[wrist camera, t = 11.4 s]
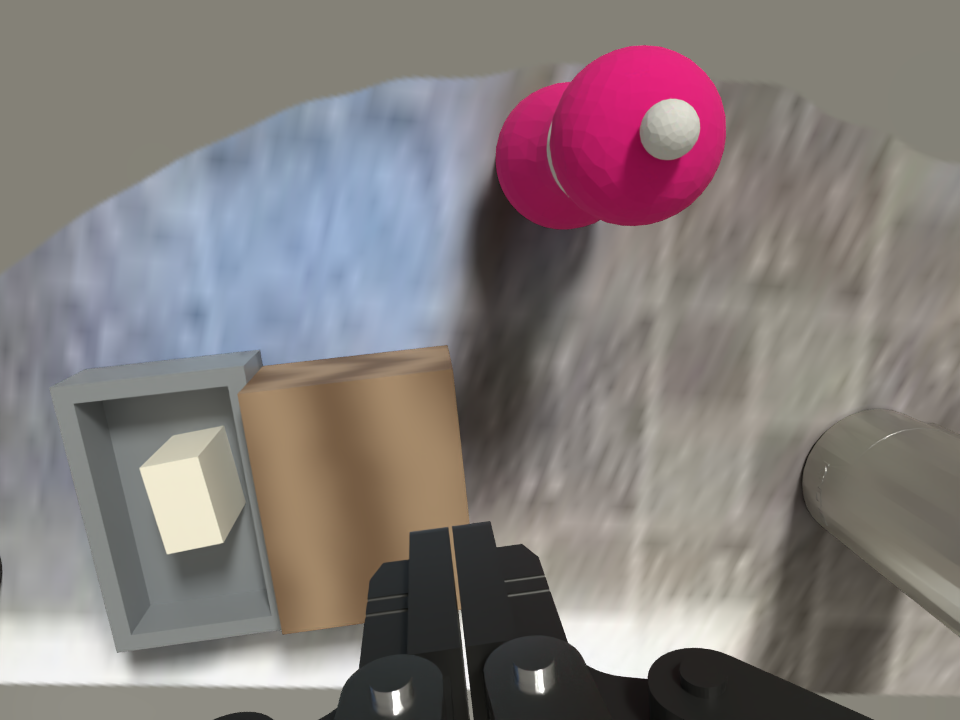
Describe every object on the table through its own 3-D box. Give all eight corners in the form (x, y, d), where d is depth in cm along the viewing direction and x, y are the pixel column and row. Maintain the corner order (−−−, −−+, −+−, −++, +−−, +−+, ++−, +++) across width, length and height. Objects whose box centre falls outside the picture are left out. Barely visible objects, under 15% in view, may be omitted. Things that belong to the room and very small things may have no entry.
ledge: (447, 345, 41) (452, 369, 35) (470, 553, 44) (478, 607, 39) (262, 366, 40) (237, 394, 35) (300, 576, 44) (282, 634, 38)
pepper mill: (587, 241, 41) (745, 280, 21) (471, 205, 39) (525, 211, 20) (628, 119, 39) (837, 41, 20) (509, 78, 38) (606, -48, 19)
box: (259, 349, 40) (243, 365, 36) (302, 590, 44) (291, 628, 40) (85, 369, 40) (49, 387, 36) (143, 612, 43) (117, 652, 39)
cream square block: (197, 456, 35) (139, 468, 35) (223, 542, 36) (167, 554, 36) (223, 425, 40) (172, 435, 40) (245, 502, 41) (196, 512, 41)
